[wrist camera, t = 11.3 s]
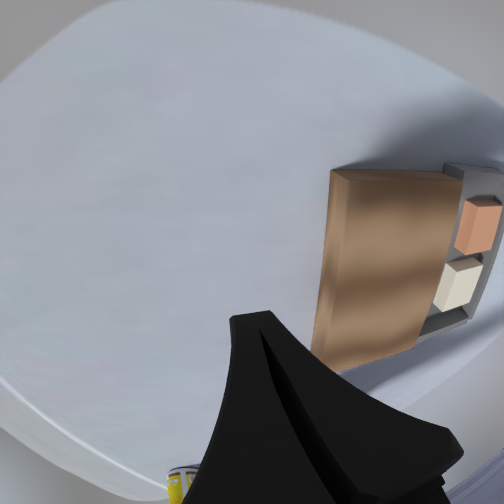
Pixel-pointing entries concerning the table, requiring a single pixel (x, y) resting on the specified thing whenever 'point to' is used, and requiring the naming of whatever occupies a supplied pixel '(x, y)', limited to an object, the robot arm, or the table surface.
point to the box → (474, 188)
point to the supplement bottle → (179, 483)
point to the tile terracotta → (478, 226)
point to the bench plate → (381, 261)
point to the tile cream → (457, 283)
